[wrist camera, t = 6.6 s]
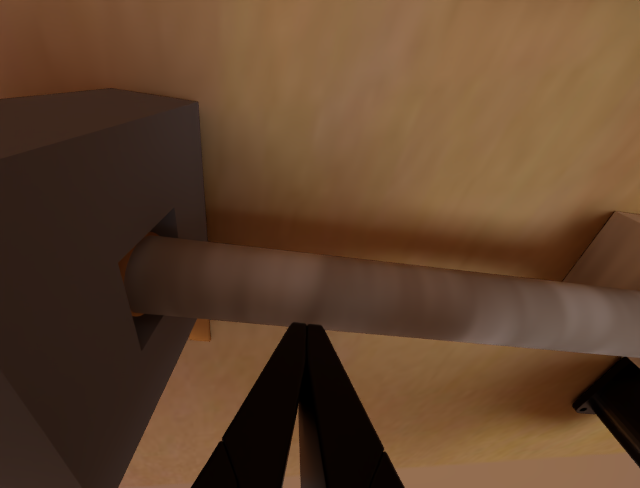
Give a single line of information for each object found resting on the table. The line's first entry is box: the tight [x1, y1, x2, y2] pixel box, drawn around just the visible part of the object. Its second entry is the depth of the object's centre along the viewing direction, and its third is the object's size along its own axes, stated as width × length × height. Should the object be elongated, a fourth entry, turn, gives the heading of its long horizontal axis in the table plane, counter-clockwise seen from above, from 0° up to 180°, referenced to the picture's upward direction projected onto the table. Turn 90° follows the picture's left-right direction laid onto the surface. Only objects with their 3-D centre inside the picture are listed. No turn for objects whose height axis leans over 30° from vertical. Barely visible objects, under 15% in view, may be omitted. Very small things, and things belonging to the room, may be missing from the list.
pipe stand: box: [118, 211, 640, 368], centre depth 12 cm, size 12×36×7 cm, turn 82°
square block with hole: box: [0, 88, 208, 488], centre depth 9 cm, size 9×3×9 cm, turn 172°
